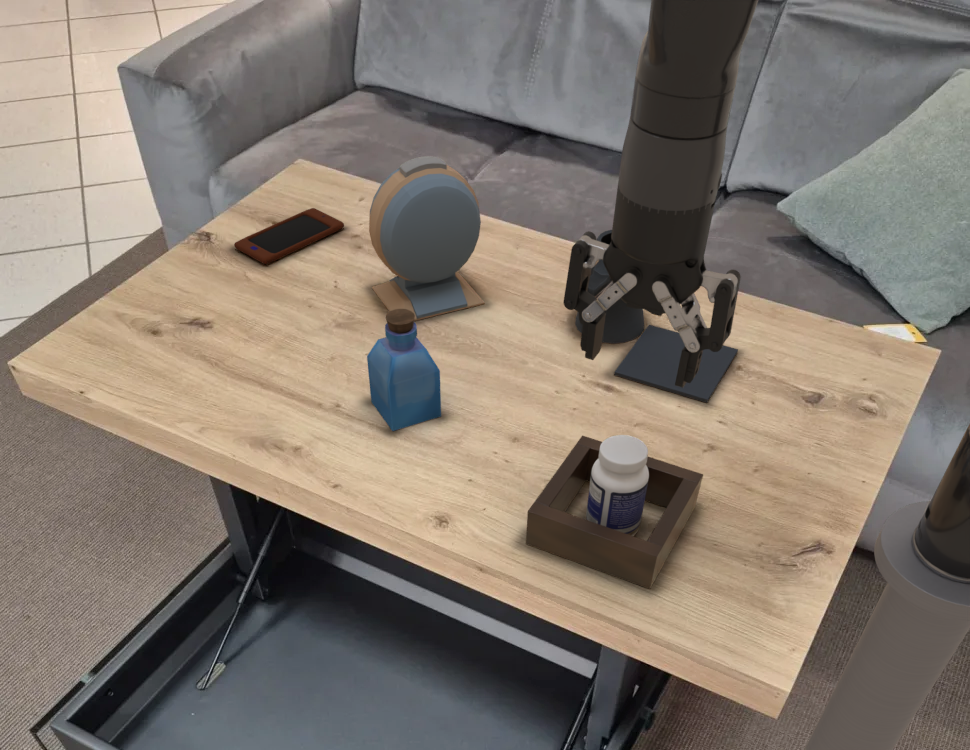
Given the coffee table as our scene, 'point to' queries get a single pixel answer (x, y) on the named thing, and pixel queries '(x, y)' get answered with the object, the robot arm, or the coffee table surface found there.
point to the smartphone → (288, 235)
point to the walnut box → (602, 543)
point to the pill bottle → (619, 484)
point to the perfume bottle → (403, 374)
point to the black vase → (613, 306)
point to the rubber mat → (673, 364)
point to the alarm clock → (425, 237)
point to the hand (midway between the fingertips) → (637, 368)
